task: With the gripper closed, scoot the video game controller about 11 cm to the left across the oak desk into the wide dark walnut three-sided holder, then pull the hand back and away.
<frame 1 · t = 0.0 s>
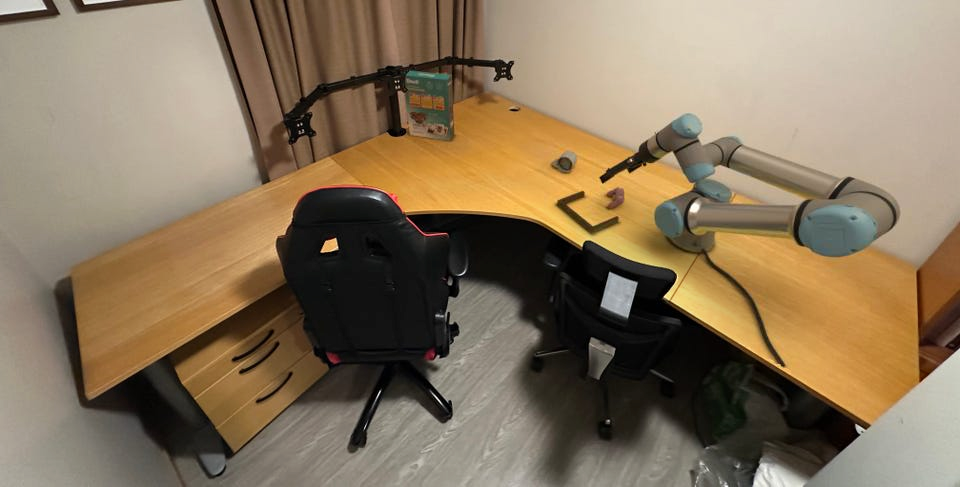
hand: (615, 175, 147), 15 cm above the table, tool tilted 35°, fingers open, 13 cm apart
holder: (587, 213, 155), on the table
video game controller: (613, 202, 160), on the table
ceramic mug: (562, 168, 179), on the table
cake mix box: (432, 135, 202), on the table
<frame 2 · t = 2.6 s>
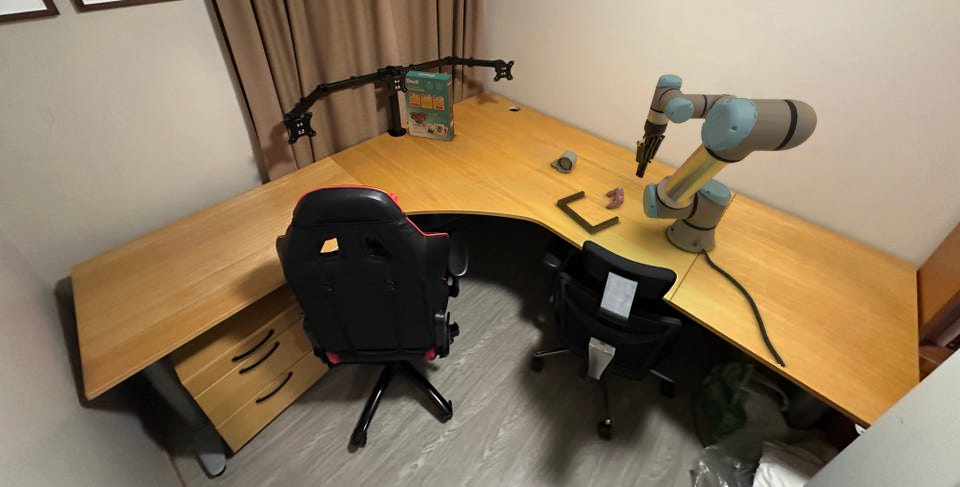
hand: (639, 176, 158), 9 cm above the table, tool pointing down, fingers closed
nothing on the table moved.
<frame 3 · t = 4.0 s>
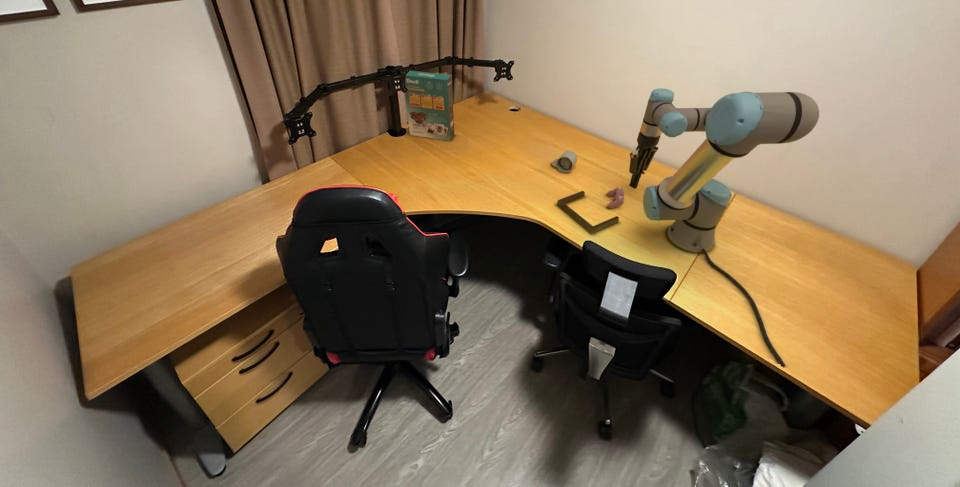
hand: (632, 186, 160), 4 cm above the table, tool pointing down, fingers closed
nothing on the table moved.
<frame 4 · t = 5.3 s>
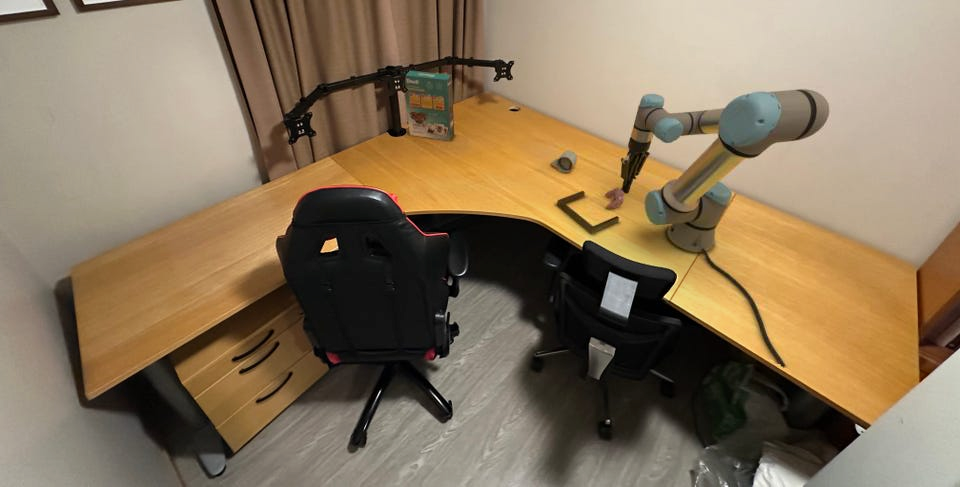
hand: (624, 191, 159), 3 cm above the table, tool pointing down, fingers closed
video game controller: (613, 203, 160), on the table, touching gripper
everything else where it was.
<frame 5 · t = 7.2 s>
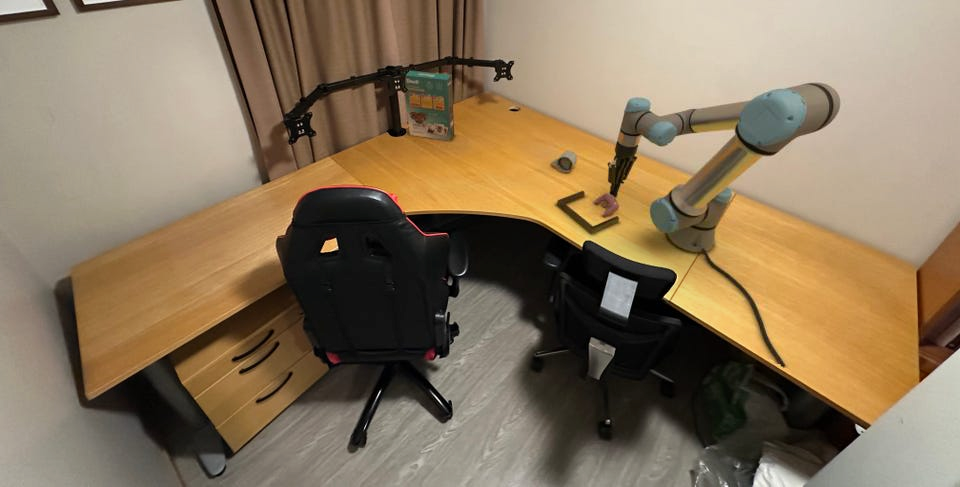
hand: (612, 196, 157), 4 cm above the table, tool pointing down, fingers closed
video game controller: (605, 209, 157), on the table, touching gripper
everything else where it was.
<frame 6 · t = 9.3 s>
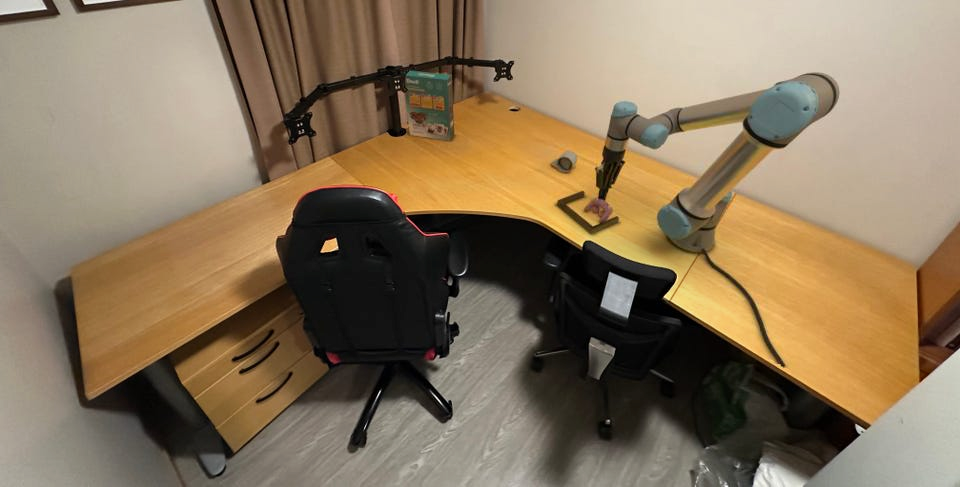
hand: (601, 200, 155), 4 cm above the table, tool pointing down, fingers closed
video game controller: (597, 215, 154), on the table, touching gripper
everything else where it was.
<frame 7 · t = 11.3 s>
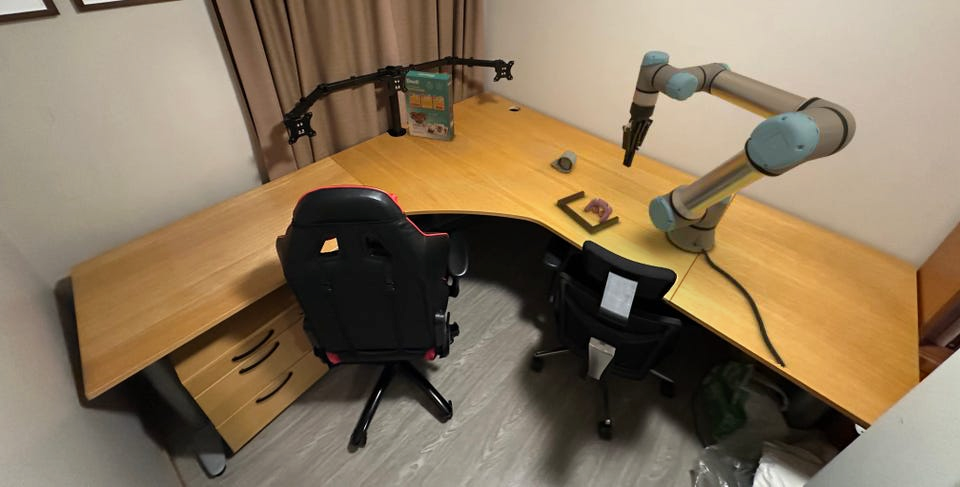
hand: (626, 165, 146), 18 cm above the table, tool pointing down, fingers closed
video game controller: (597, 215, 154), on the table
everything else where it was.
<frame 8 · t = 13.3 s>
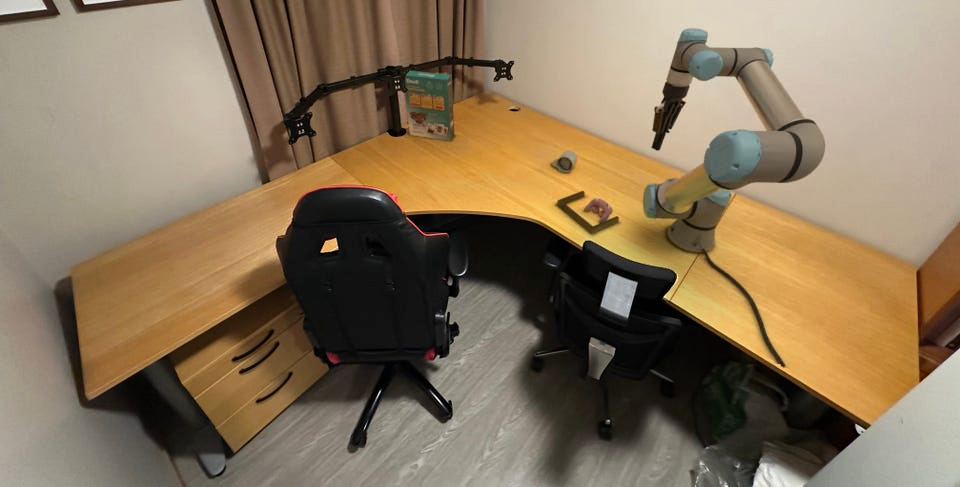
hand: (655, 148, 143), 24 cm above the table, tool pointing down, fingers closed
nothing on the table moved.
at the end: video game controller inside the target area (3.9 cm from its centre), on the table; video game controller tilted 0°; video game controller moved 11.6 cm from its start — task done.
